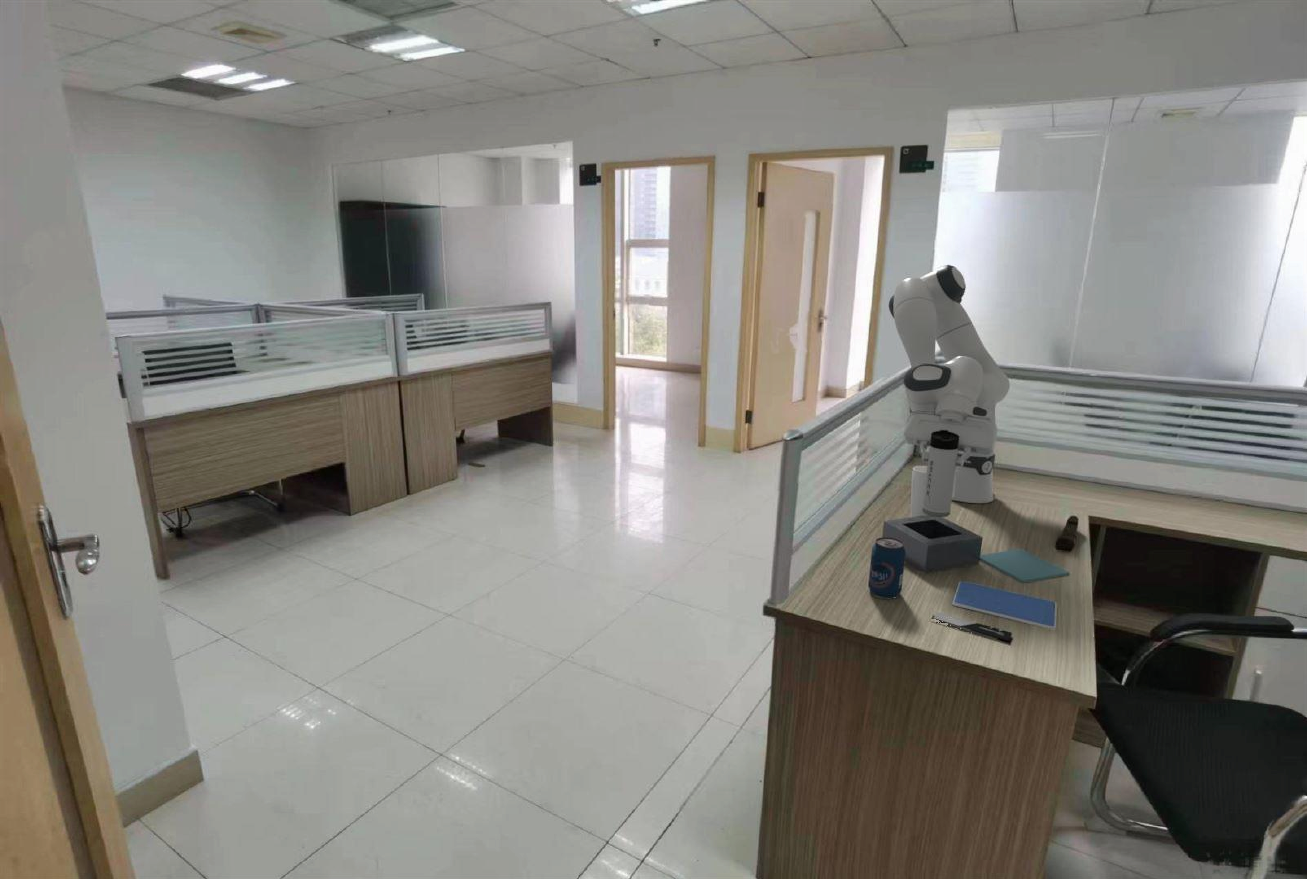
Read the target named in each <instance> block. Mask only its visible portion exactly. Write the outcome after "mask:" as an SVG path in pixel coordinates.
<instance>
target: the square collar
mask: <svg viewBox="0 0 1307 879" xmlns="http://www.w3.org/2000/svg"><path fill="white" fill-rule="evenodd" d="M882 525H883V528H882V535H881V536H882V537H890V538H895V539H898V540H900V541H902V542H903V544H904V549H905V551H906V555H905V563H907V564H909V565H910V566H911V567H913V568H915V569H917V570H918V571H920V572H921V571H922V572H921V573H923V574H924V573H925V574H929V573H935V572H940V571H948V570H953V569H954V570H955V569H958V568H964V567H970V566H977V565H980V555H981V552H982V544H983V537H982V536H981V535H979V534H977V533H975V532H973V531H970V530H969V529H967V528H964V527H963V526H962V525H961V526H960V525H959V524H957V523H954V522H952V521H950V520H948V519H947V518H945V517H934V516H930V515H925V516H917V517H910V516H909V517H904V518H897V519H896V518H895V519H889V520H884V521H883V524H882Z"/></svg>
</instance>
